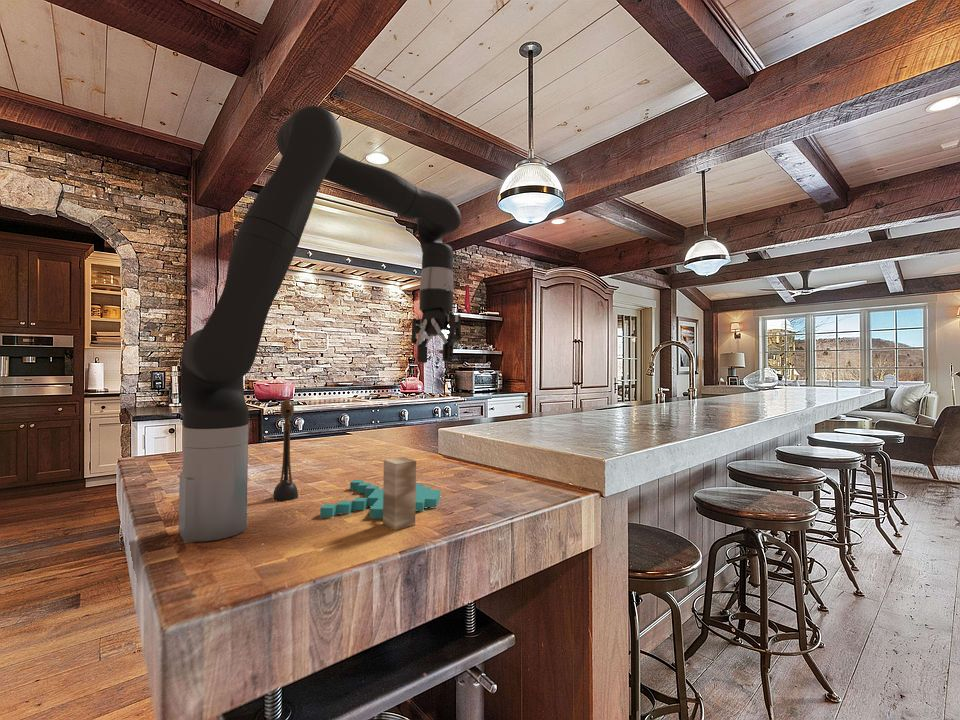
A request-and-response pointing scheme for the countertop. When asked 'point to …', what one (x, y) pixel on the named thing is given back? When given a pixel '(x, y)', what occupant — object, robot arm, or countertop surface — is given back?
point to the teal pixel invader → (377, 500)
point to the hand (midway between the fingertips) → (434, 362)
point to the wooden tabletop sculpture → (286, 459)
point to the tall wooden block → (399, 493)
